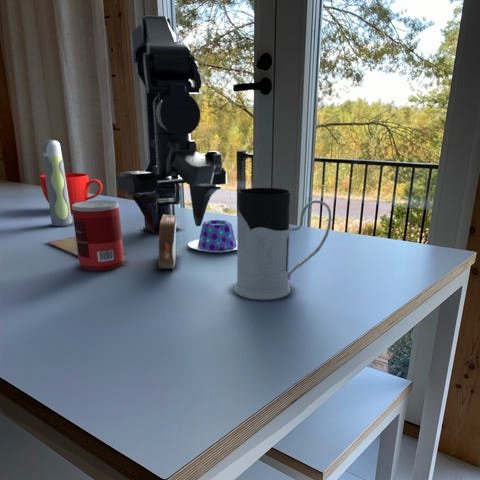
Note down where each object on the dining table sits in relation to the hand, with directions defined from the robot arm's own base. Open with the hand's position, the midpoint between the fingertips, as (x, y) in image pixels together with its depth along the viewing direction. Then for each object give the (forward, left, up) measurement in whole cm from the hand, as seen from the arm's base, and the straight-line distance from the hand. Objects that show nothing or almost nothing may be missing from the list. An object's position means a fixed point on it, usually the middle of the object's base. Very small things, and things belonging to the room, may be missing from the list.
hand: (177, 229), depth 83 cm
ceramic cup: (-11, -66, -7) cm, 67 cm away
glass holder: (-4, +21, -7) cm, 23 cm away
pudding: (-14, -6, -7) cm, 17 cm away
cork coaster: (+7, -24, -7) cm, 26 cm away
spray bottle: (0, -50, -7) cm, 50 cm away
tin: (0, -3, -7) cm, 7 cm away
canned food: (+10, -10, -7) cm, 16 cm away
